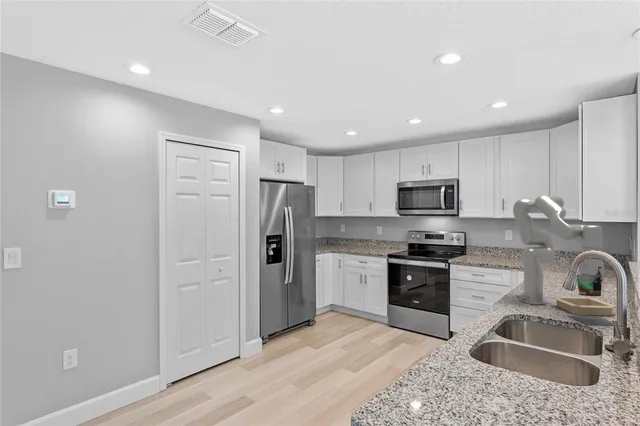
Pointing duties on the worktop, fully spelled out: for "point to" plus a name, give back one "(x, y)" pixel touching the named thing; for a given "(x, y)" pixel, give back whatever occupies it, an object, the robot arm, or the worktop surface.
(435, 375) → the worktop surface
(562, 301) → the tan square tray
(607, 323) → the mat
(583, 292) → the food container
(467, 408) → the worktop surface
